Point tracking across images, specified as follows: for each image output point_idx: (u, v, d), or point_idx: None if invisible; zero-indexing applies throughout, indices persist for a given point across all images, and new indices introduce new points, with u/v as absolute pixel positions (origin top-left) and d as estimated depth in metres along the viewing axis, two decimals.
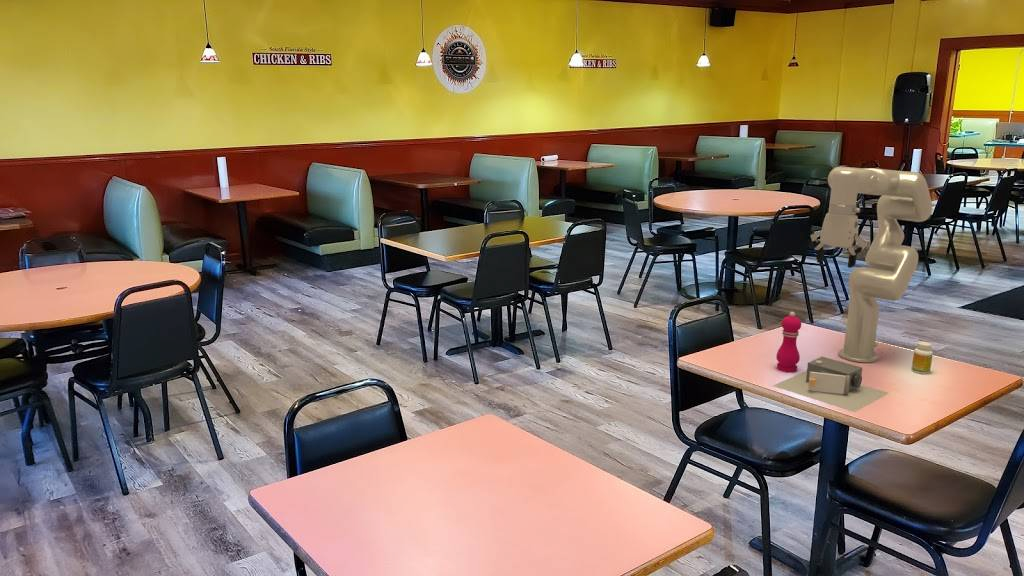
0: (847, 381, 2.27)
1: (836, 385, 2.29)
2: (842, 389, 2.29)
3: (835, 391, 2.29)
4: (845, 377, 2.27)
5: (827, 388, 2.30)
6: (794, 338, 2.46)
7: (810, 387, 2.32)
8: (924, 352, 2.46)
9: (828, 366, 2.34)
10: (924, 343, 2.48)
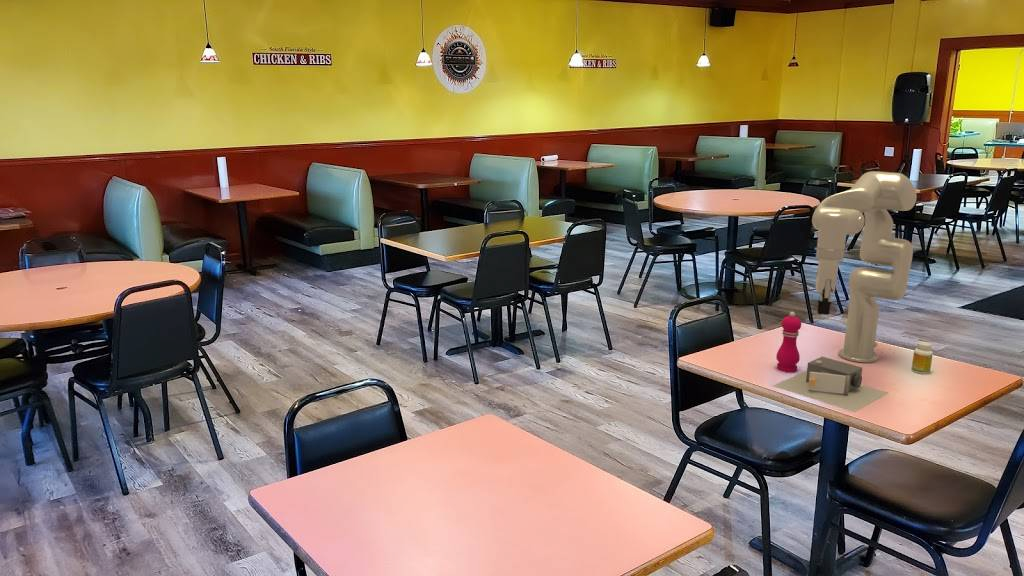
0: (847, 381, 2.27)
1: (836, 385, 2.29)
2: (842, 389, 2.29)
3: (835, 391, 2.29)
4: (845, 377, 2.27)
5: (827, 388, 2.30)
6: (794, 338, 2.46)
7: (810, 387, 2.32)
8: (924, 352, 2.46)
9: (828, 366, 2.34)
10: (924, 343, 2.48)
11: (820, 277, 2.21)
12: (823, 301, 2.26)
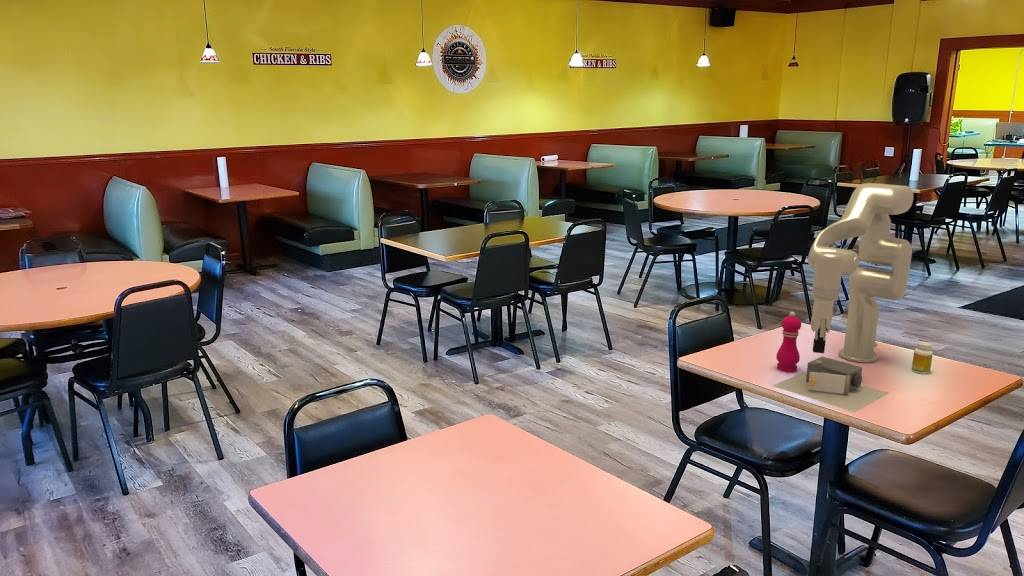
0: (847, 381, 2.27)
1: (836, 385, 2.29)
2: (842, 389, 2.29)
3: (835, 391, 2.29)
4: (845, 377, 2.27)
5: (827, 388, 2.30)
6: (794, 338, 2.46)
7: (810, 387, 2.32)
8: (924, 352, 2.46)
9: (828, 366, 2.34)
10: (924, 343, 2.48)
11: (815, 317, 2.24)
12: (818, 340, 2.28)
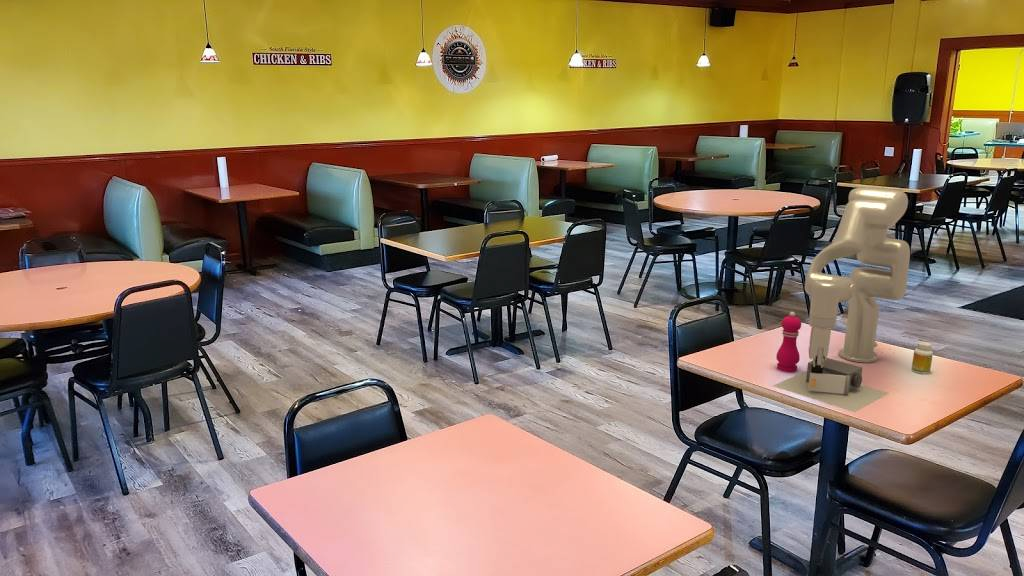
0: (847, 381, 2.27)
1: (837, 385, 2.29)
2: (842, 389, 2.28)
3: (835, 391, 2.29)
4: (845, 377, 2.27)
5: (827, 389, 2.30)
6: (794, 338, 2.46)
7: (810, 388, 2.31)
8: (924, 352, 2.46)
9: (828, 366, 2.34)
10: (924, 343, 2.48)
11: (812, 345, 2.26)
12: (816, 367, 2.30)
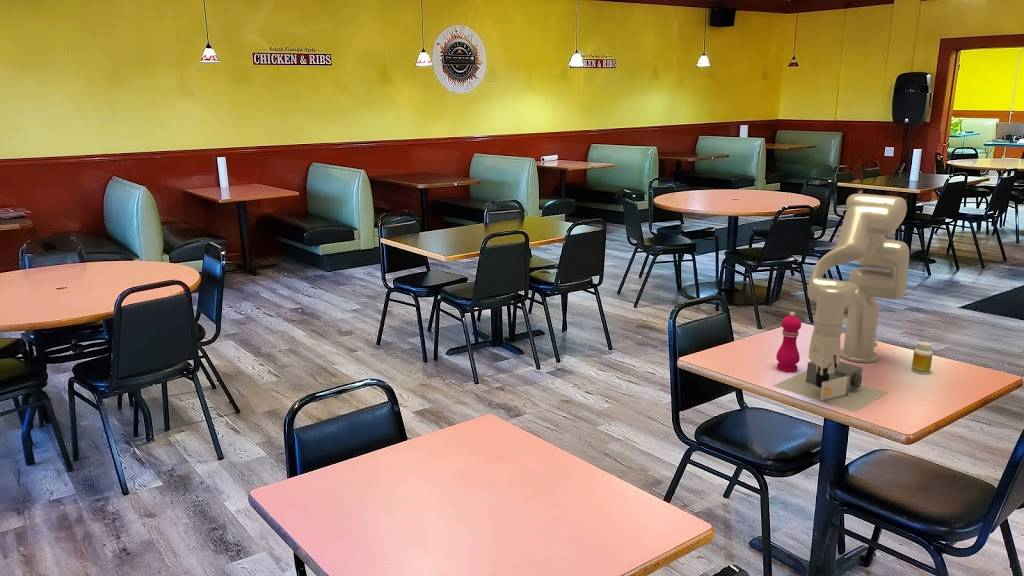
0: (848, 381, 2.27)
1: (841, 388, 2.27)
2: (844, 390, 2.28)
3: (840, 394, 2.27)
4: (847, 378, 2.27)
5: (835, 394, 2.26)
6: (794, 338, 2.46)
7: (823, 397, 2.24)
8: (924, 352, 2.46)
9: None
10: (924, 343, 2.48)
11: (826, 354, 2.19)
12: (824, 375, 2.24)
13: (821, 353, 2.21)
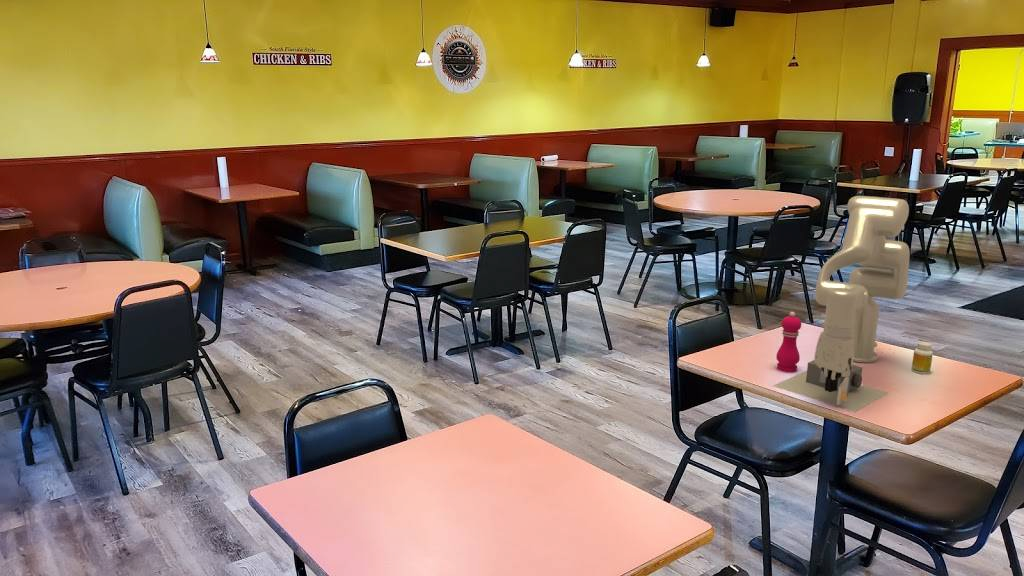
0: (849, 381, 2.28)
1: (846, 389, 2.26)
2: (846, 390, 2.28)
3: None
4: (848, 378, 2.27)
5: None
6: (794, 338, 2.46)
7: (840, 402, 2.21)
8: (924, 352, 2.46)
9: None
10: (924, 343, 2.48)
11: (844, 358, 2.15)
12: (835, 379, 2.21)
13: (837, 357, 2.17)
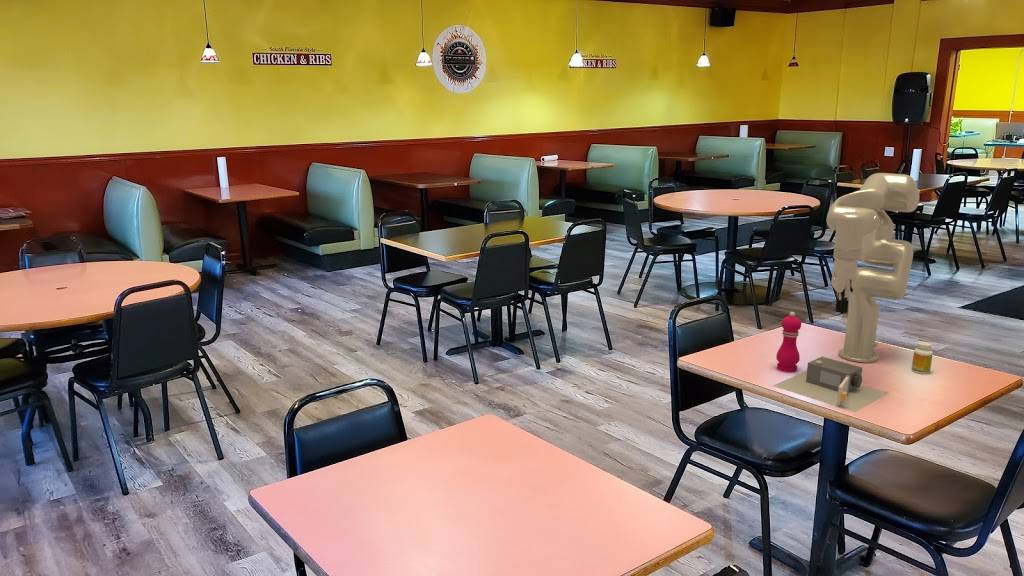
0: (849, 381, 2.28)
1: (846, 389, 2.26)
2: (846, 390, 2.28)
3: None
4: (848, 378, 2.27)
5: None
6: (794, 338, 2.46)
7: (840, 402, 2.21)
8: (924, 352, 2.46)
9: (828, 366, 2.34)
10: (924, 343, 2.48)
11: (841, 278, 2.25)
12: (842, 300, 2.30)
13: (837, 277, 2.27)
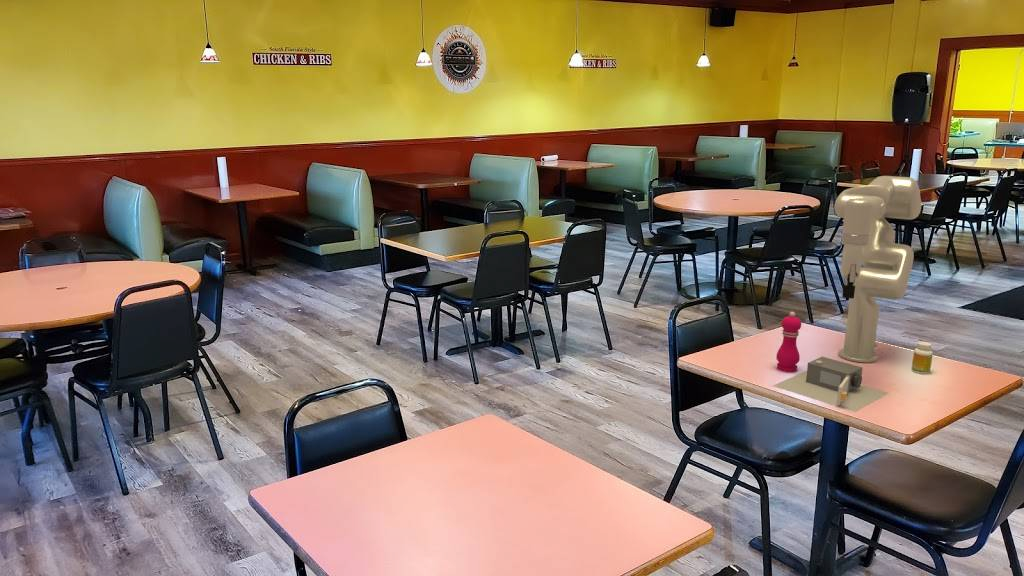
0: (849, 381, 2.28)
1: (846, 389, 2.26)
2: (846, 390, 2.28)
3: None
4: (848, 378, 2.27)
5: None
6: (794, 338, 2.46)
7: (840, 402, 2.21)
8: (924, 352, 2.46)
9: (828, 366, 2.34)
10: (924, 343, 2.48)
11: (845, 262, 2.29)
12: (848, 285, 2.34)
13: (843, 262, 2.31)
